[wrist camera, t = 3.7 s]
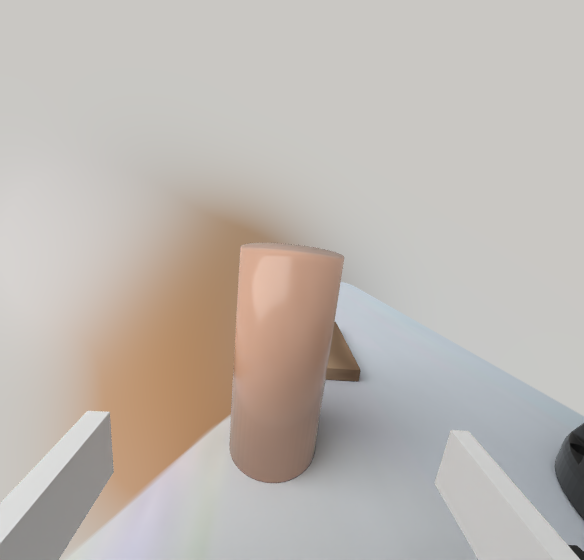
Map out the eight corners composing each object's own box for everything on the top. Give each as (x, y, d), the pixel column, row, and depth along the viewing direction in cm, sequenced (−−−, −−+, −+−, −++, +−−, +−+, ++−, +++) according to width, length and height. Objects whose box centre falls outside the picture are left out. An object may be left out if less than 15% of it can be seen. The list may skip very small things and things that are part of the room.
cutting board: (334, 330, 45) (335, 321, 45) (358, 381, 32) (360, 370, 31) (250, 323, 44) (251, 315, 44) (239, 374, 31) (239, 362, 30)
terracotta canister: (309, 412, 26) (332, 248, 22) (320, 484, 19) (357, 265, 15) (236, 409, 25) (246, 240, 21) (221, 481, 19) (232, 254, 15)
